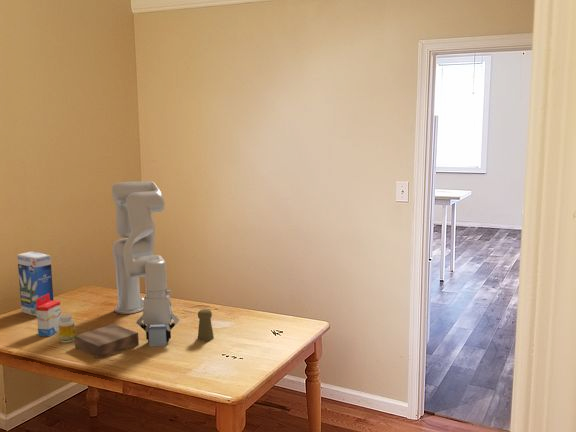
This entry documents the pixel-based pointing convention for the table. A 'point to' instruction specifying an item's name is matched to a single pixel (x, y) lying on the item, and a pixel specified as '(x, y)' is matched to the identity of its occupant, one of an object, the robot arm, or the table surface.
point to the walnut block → (106, 340)
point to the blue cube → (157, 335)
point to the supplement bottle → (66, 328)
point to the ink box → (47, 316)
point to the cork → (205, 325)
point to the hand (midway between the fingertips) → (158, 340)
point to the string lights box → (34, 279)
